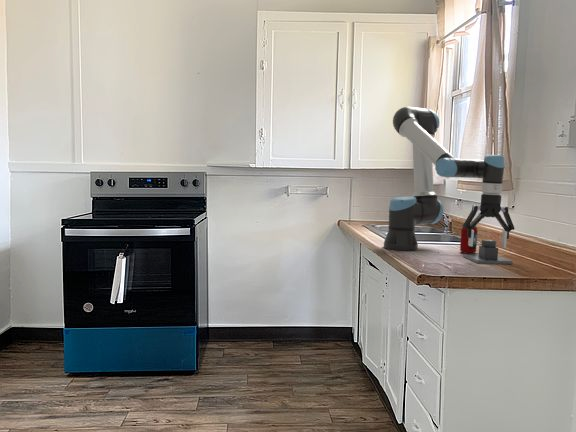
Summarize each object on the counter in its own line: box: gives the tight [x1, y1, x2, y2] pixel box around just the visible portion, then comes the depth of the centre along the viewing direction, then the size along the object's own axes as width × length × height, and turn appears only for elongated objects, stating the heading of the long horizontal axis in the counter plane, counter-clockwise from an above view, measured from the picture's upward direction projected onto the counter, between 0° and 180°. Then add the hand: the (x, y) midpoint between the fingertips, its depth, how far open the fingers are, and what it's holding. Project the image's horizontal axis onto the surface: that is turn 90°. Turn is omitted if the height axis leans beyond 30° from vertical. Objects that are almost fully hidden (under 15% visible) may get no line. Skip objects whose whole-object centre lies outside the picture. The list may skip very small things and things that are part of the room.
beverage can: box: [459, 225, 479, 254], centre depth 221 cm, size 7×7×12 cm
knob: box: [478, 239, 499, 259], centre depth 202 cm, size 5×5×7 cm
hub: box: [462, 253, 514, 265], centre depth 203 cm, size 14×14×5 cm
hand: (486, 246), depth 203 cm, fingers open, 13 cm apart
